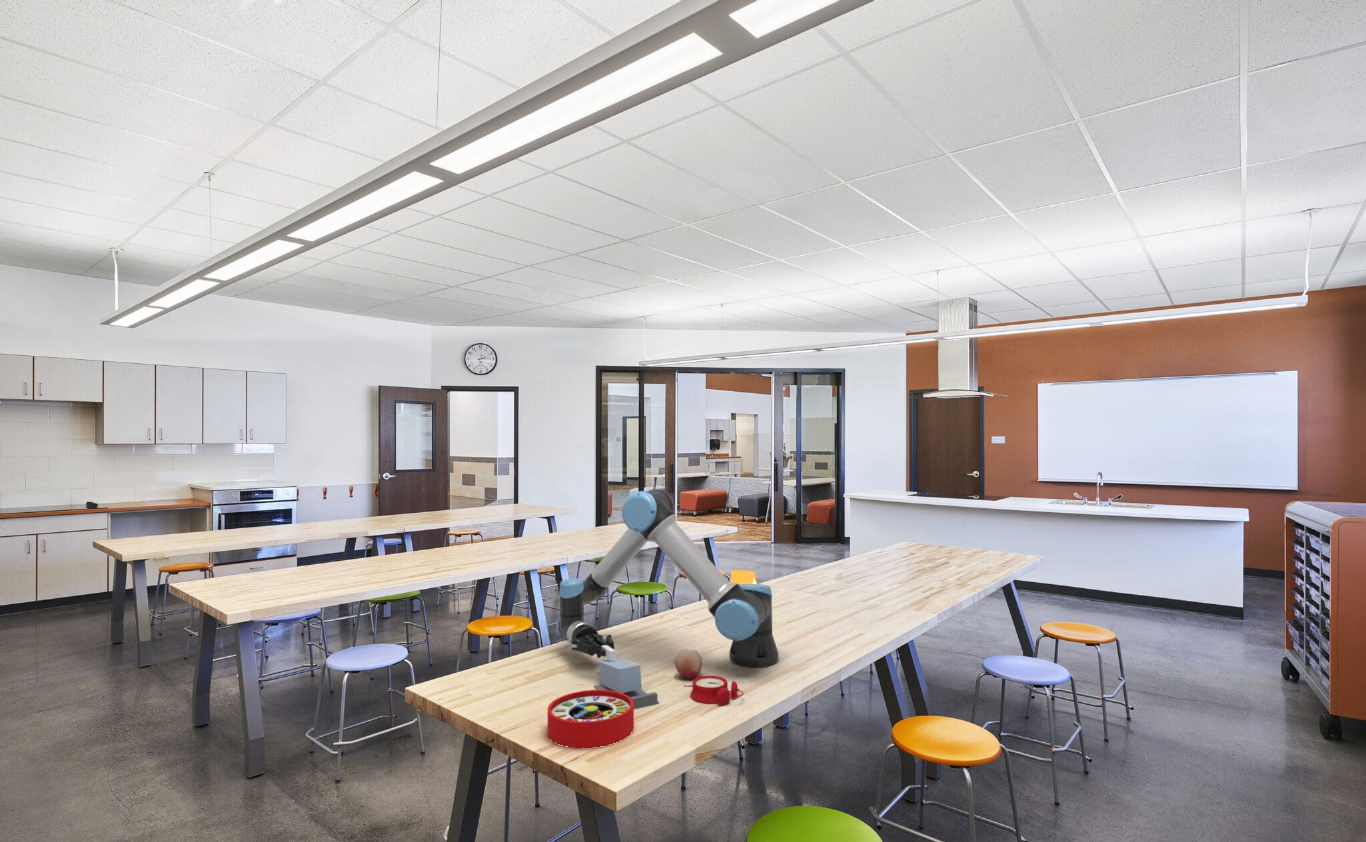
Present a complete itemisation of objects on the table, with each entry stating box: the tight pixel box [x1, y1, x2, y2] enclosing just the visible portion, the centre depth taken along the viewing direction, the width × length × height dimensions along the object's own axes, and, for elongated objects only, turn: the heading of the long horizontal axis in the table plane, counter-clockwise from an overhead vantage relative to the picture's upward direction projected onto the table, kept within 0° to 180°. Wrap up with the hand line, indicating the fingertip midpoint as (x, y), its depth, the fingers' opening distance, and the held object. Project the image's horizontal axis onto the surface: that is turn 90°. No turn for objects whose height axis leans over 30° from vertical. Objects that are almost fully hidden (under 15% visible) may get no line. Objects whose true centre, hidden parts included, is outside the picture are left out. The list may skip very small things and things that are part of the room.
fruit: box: [674, 648, 703, 680], centre depth 189 cm, size 8×8×8 cm
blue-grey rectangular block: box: [597, 657, 643, 693], centre depth 179 cm, size 6×6×15 cm
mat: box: [593, 684, 660, 710], centre depth 175 cm, size 20×10×2 cm, turn 29°
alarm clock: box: [683, 675, 744, 706], centre depth 173 cm, size 10×6×15 cm
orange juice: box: [729, 569, 758, 584], centre depth 244 cm, size 8×9×20 cm
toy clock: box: [547, 689, 635, 749], centre depth 154 cm, size 20×6×20 cm
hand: (612, 656), depth 182 cm, fingers closed
